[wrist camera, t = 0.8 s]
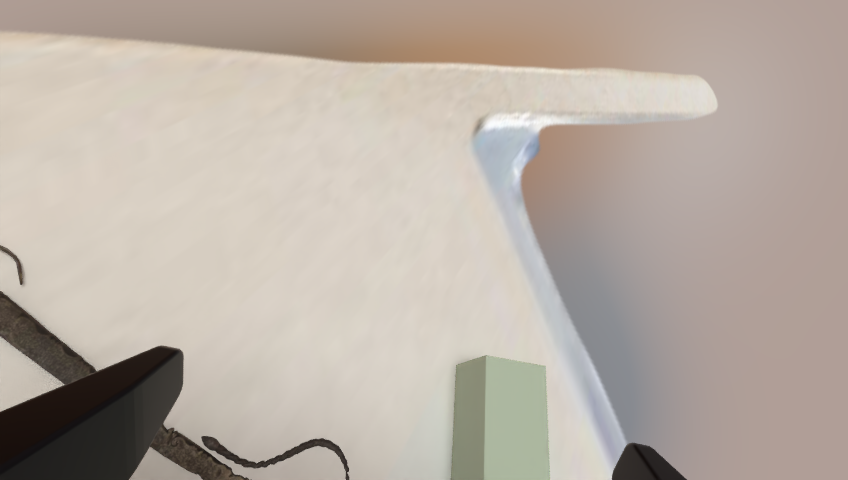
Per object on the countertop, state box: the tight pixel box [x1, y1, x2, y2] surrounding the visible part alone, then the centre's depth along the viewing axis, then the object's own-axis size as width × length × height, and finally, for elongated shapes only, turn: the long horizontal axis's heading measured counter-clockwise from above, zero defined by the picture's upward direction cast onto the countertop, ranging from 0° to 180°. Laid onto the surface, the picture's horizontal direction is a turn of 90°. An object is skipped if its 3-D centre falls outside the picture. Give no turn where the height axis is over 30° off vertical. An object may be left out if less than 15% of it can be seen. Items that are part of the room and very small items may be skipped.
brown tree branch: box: [0, 245, 349, 480], centre depth 20 cm, size 24×10×2 cm, turn 54°
